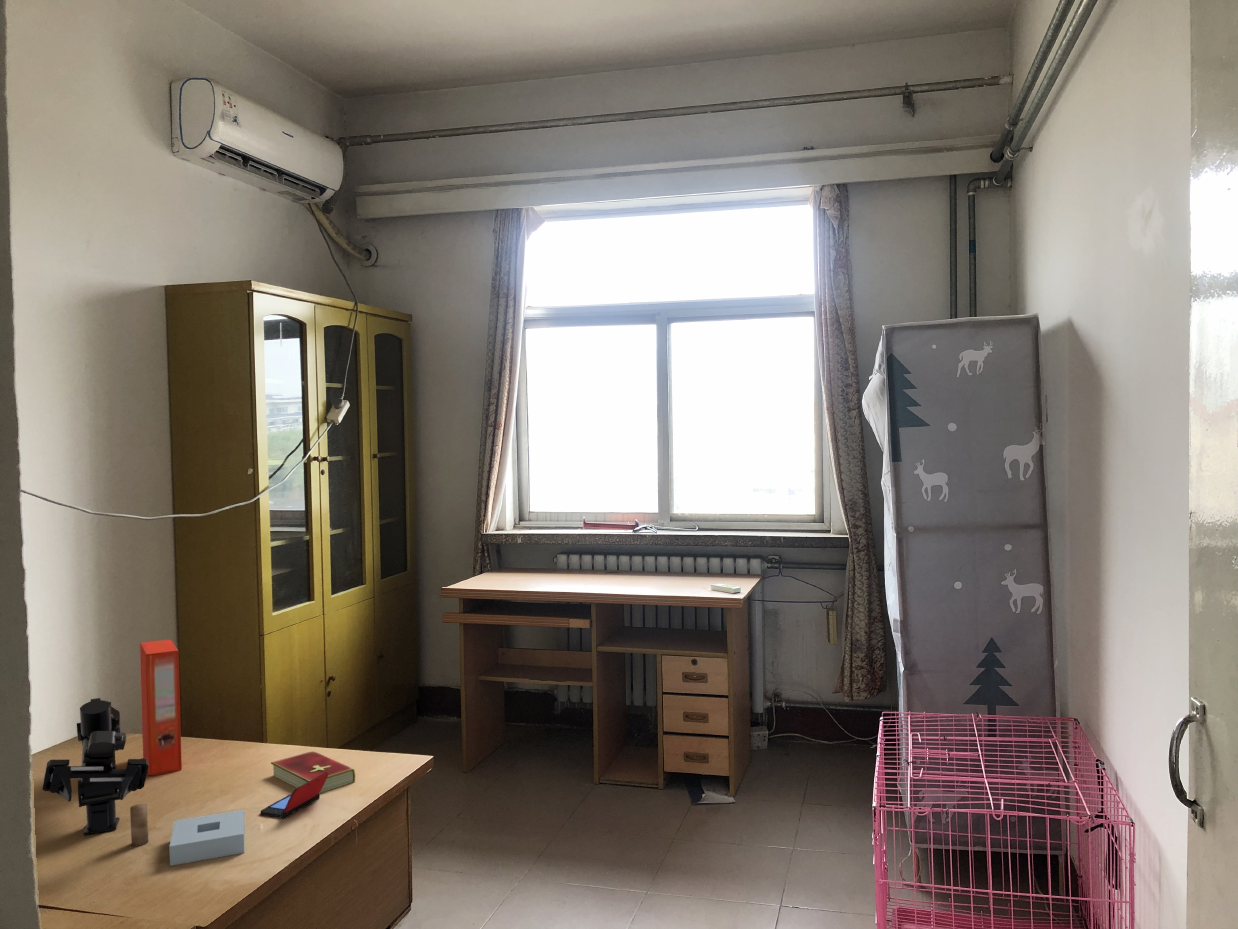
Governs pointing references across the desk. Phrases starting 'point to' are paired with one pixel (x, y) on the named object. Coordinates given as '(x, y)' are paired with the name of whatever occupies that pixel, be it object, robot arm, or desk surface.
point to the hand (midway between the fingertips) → (96, 798)
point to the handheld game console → (296, 799)
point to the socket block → (207, 837)
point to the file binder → (160, 706)
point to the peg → (139, 824)
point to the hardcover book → (313, 770)
